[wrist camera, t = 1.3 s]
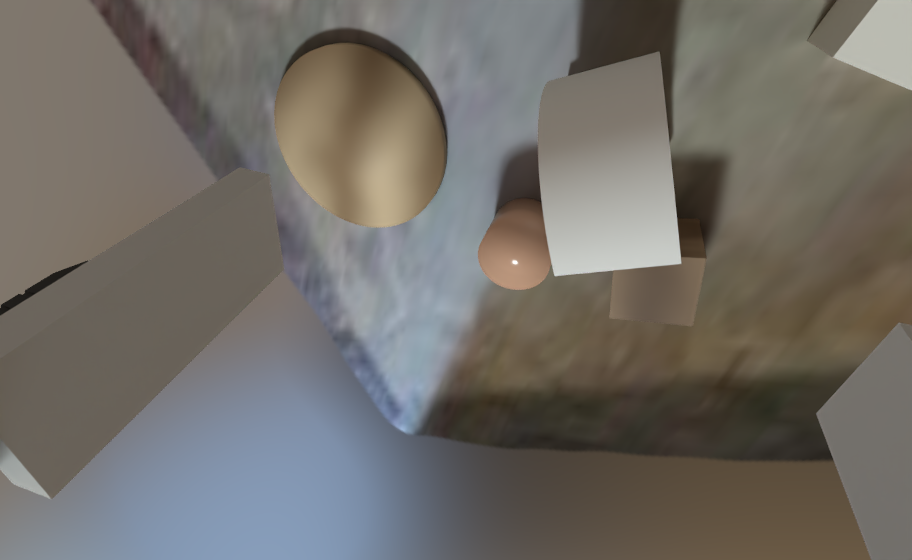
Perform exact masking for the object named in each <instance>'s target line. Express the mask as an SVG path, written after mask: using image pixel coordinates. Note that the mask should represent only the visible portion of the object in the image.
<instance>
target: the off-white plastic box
mask: <svg viewBox="0 0 912 560" xmlns="http://www.w3.org/2000/svg"><path fill="white" fill-rule="evenodd" d="M807 41H808V42H810V43H811V44H813V45H814V46H816V47H818V48H819V49H821V50H822V51H824V52H825V53H827V54H828V55H830V56H832V57H833V58H836V59H838V60H840V61H843V62H845V63H847V64H850V65H852V66H855V67H857V68H859V69H862V70H864V71H866V72H869V73H871V74H874V75H876V76H878V77H881V78H883V79H886V80H888V81H890V82H893V83H895V84H897V85H900V86H902V87H905V88H907V89H909V90H912V0H837V1H836V2H835V3H834V5H833V6H832V7H831V9H830V10H829V12H828V13H827V14H826V16H825V17H824V18H823V20H822V21H821V22H820V24H819V25H818V26H817V28H816V29H815V30H814V32H813V33H812V35H811V36H810V37H809V39H808V40H807Z"/></svg>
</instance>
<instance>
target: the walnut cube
mask: <svg viewBox="0 0 912 560" xmlns="http://www.w3.org/2000/svg"><path fill="white" fill-rule="evenodd" d="M677 223H678V234H679V244H680V254H681V264H675V265H665V266H654V267H644V268H633V269H623V270H613V279H612V292H611V304H610V317H609V318H613V319H624V320H634V321H644V322H654V323H664V324H674V325H684V326H693V323H694V318H695V313H696V308H697V303H698V299H699V294H700V289H701V284H702V279H703V274H704V269H705V264H706V259H707V258H706V253H705V247H704V242H703V237H702V232H701V226H700V221H699V219H686V218H677Z"/></svg>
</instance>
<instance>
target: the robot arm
mask: <svg viewBox="0 0 912 560" xmlns="http://www.w3.org/2000/svg"><path fill="white" fill-rule="evenodd" d="M283 270H284V265H283V259H282V253H281V247H280V240H279V234H278V228H277V221H276V215H275V209H274V203H273V196H272V190H271V184H270V177H269V174H265V173H261V172H257V171H253V170H248V169H244V168H238V169H237V170H235V171H233V172H232V173H230V174H229V175H227V176H225V177H224V178H222V179H221V180H219V181H217V182H216V183H214V184H212V185H211V186H209V187H208V188H206V189H204V190H203V191H201V192H200V193H198V194H196V195H195V196H193V197H192V198H190V199H188V200H187V201H185V202H183V203H182V204H180V205H178V206H177V207H175V208H174V209H172V210H170V211H169V212H167V213H166V214H164V215H162V216H161V217H159V218H158V219H156V220H154V221H153V222H151V223H149V224H148V225H146V226H145V227H143V228H142V229H140V230H138V231H136V232H135V233H133V234H132V235H130V236H128V237H127V238H125V239H123V240H122V241H120V242H119V243H117V244H116V245H114V246H112V247H111V248H109V249H107V250H106V251H104V252H102V253H101V254H100V255H98V256H96V257H94V258H93V259H91V260H89V261H85V262H83V263H80V264H77V265H74V266H72V267H69V268H66V269H63V270H61V271H58V272H55V273H53V274H51V275H50V276H48V277H47V278H45V279H43V280H41V281H40V282H38V283H37V284H35V285H33V286H32V287H30V288H28V289H27V290H25V293H24V294H23V295H21V294H18V295H17V296H15V297H13V298H12V299H10V300H8V301H7V302H5V303H3V304H2V305H1V308H0V470H1V471H2V472H3V473H4V474H5V475H6V476H7V477H8V479H10V481H11V482H12V483H13V484H15V485H17V486H20V487H22V488H25V489H27V490H30V491H32V492H35V493H37V494H40V495H42V496H45V497H47V498H50V499H53V498H54V497H55V496H56V495H57V494H58V493H59V492H60V491H61V490H62V489H63V488H64V487H65V486H66V485H67V484H68V483H69V482H70V481H71V480H72V479H73V478H74V477H75V476H76V475H77V474H78V473H79V472H80V471H81V470H82V469H83V468H84V467H85V466H86V465H87V464H88V463H89V462H90V461H91V460H92V459H93V458H94V457H95V456H96V455H97V454H98V453H99V452H100V451H101V450H102V449H103V448H104V447H105V446H106V445H107V444H108V443H109V442H110V441H111V440H112V439H113V438H114V437H115V436H116V435H117V434H118V433H119V432H120V431H121V430H122V429H123V428H124V427H125V426H126V425H127V424H128V423H129V422H130V421H131V420H132V419H133V418H134V417H135V416H136V415H137V414H138V413H139V412H140V411H142V410H143V409H144V407H146V406H147V405H148V404H149V403H150V402H151V401H152V400H153V399H154V398H155V397H156V396H157V395H158V394H159V393H160V392H161V391H162V390H163V389H164V388H165V387H166V386H167V384H169V383H170V382H171V381H172V380H173V379H174V378H175V377H176V376H177V375H178V374H179V373H180V372H181V371H182V370H183V369H184V368H185V367H186V366H187V365H188V364H189V363H190V362H191V361H192V360H193V359H194V358H195V357H196V356H197V355H198V354H199V353H200V352H201V351H202V350H203V349H204V348H205V347H206V346H207V345H208V344H209V343H210V342H211V341H212V340H213V339H214V338H215V337H216V336H217V335H218V334H219V333H220V332H221V331H222V330H223V329H224V328H225V327H226V326H227V325H228V324H229V323H230V322H231V321H232V320H233V319H234V318H235V317H236V316H238V315H239V313H240V312H242V310H243V309H245V308H246V307H247V306H248V305H249V304H250V303H251V302H252V301H253V299H255V298H256V297H257V296H258V295H259V294H260V293H261V292H262V291H263V290H264V289H265V288H266V287H267V286H268V285H269V284H270V283H271V282H272V281H273V280H274V279H275V278H276V277H277V276H278V275H279V274H280V273H281V272H282V271H283ZM816 414H817V417H818V420H819V422H820V425H821V428H822V430H823V433H824V436H825V438H826V441H827V444H828V446H829V449H830V452H831V454H832V457H833V459H834V462H835V465H836V467H837V470H838V472H839V475H840V478H841V481H842V483H843V486H844V489H845V491H846V493H847V497H848V499H849V502H850V504H851V507H852V510H853V512H854V515H855V518H856V520H857V523H858V525H859V528H860V531H861V534H862V536H863V539H864V542H865V544H866V547H867V550H868V552H869V555H870V558H871V560H912V325H907V324H903V323H898V324H897V325H896V326H895V327H894V329H893V330H892V331H891V332H890V333H889V334H888V335H887V336H886V337H885V338H884V340H883V341H882V342H881V343H880V344H879V345H878V346H877V347H876V348H875V349H874V351H873V352H872V353H871V354H870V355H869V356H868V357H867V358H866V359H865V360H864V362H863V363H862V364H861V365H860V366H859V367H858V368H857V369H856V370H855V371H854V373H853V374H852V375H851V376H850V377H849V378H848V379H847V380H846V381H845V382H844V384H843V385H842V386H841V387H840V388H839V389H838V390H837V391H836V392H835V393H834V395H833V396H832V397H831V398H830V399H829V400H828V401H827V402H826V403H825V404H824V406H823V407H822V408H821V409H820V410H819V411H818V412H817V413H816Z"/></svg>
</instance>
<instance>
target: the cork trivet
mask: <svg viewBox="0 0 912 560" xmlns="http://www.w3.org/2000/svg"><path fill="white" fill-rule="evenodd" d="M274 116H275V128H276V135H277V139H278V142H279V146H280V149H281V152H282V154H283V157H284V159H285V161H286V163H287V165H288V167H289V169H290V171H291V172H292V174H293V175H294V177H295V179H296V180H297V181H298V183H299V184H300V185H301V187H302V188H303V189H304V190H305V191H306V192H307V193H308V194H309V196H311V197H312V198H313V199H314V200H315V201H316V202H317V203H318V204H319V205H321V206H322V207H323V208H325V209H326V210H327V211H329V212H331V213H332V214H334V215H336V216H337V217H340V218H342V219H344V220H346V221H349V222H351V223H354V224H358V225H362V226H367V227H390V226H395V225H398V224H402V223H404V222H406V221H408V220H410V219H412V218H414V217H415V216H416V215H418V214H419V213H420V212H421V211H422V210H423V209H424V208H425V207H426V206H427V205H428V204H429V203H430V201H431V200H432V199H433V197H434V196H435V195H436V193H437V191H438V189H439V187H440V185H441V183H442V180H443V177H444V173H445V168H446V161H447V145H446V137H445V132H444V127H443V124H442V121H441V118H440V115H439V113H438V110H437V108H436V106H435V104H434V102H433V100H432V98H431V97H430V95H429V93H428V92H427V90H426V89H425V88H424V86H423V85H422V84H421V82H420V81H419V80H418V79H417V78H416V77H415V76H414V75H413V74H412V73H411V71H410V70H408V69H407V68H406V67H405V66H404V65H402V64H401V63H400V62H399V61H397V60H396V59H394V58H393V57H391V56H389V55H388V54H386V53H384V52H382V51H380V50H378V49H375V48H372V47H369V46H366V45H363V44H356V43H335V44H329V45H326V46H323V47H320V48H317V49H315V50H312V51H310V52H308V53H306V54H305V55H303V56H301V57H300V58H299V59H298V60H297V61H295V62H294V63H293V64H292V66H291V67H290V68H289V69H288V70H287V72H286V74H285V75H284V77H283V79H282V81H281V83H280V86H279V89H278V91H277V96H276V101H275V111H274Z"/></svg>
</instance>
